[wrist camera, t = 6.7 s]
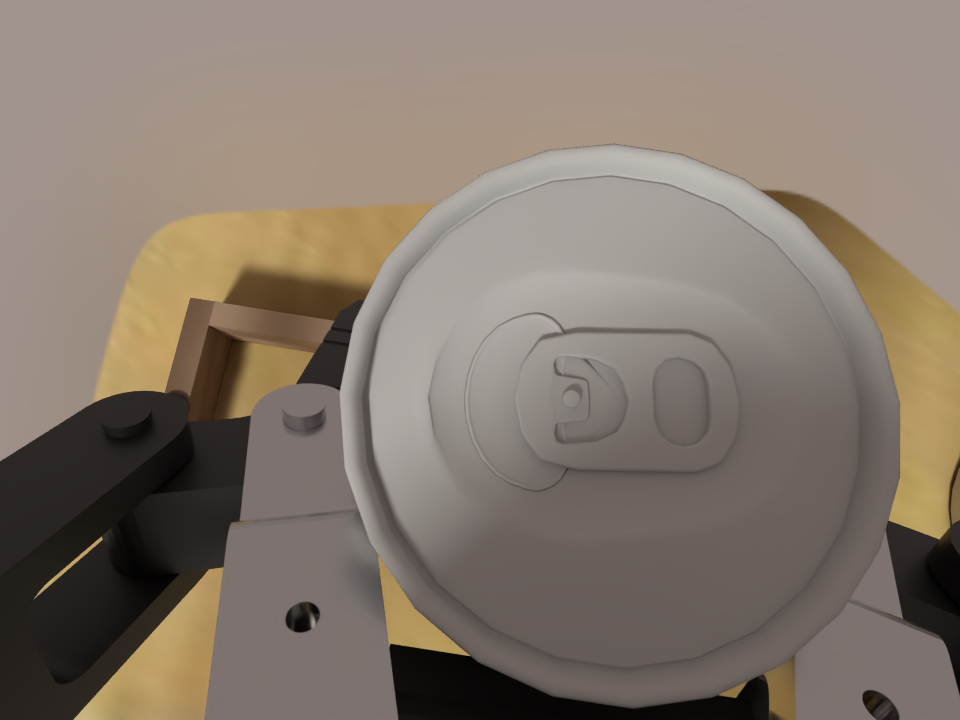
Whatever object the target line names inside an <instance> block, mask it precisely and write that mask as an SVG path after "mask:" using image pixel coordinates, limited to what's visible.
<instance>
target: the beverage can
mask: <svg viewBox="0 0 960 720" xmlns="http://www.w3.org/2000/svg"><path fill="white" fill-rule="evenodd" d="M339 395H340V409H341V423H342V437H343V451H344V465H345V471H346V474H347V477H348V480H349V483H350V486H351V489H352V491H353V494H354V497H355V500H356V503H357V506H358V509H359V512H360V515H361V518H362V520H363V523H364V526H365V529H366V532H367V535H368V538H369V541H370V543H371V545H372V546H373V548H374V549H375V551H376V552H377V553H378V555H379V556H380V558H381V559H382V561H383V562H384V564H385V565H386V567H387V568H388V570H389V571H390V572H391V574H392V575H393V577H394V578H395V580H396V581H397V583H398V584H399V586H400V587H401V588H402V590H403V591H404V593H405V594H406V596H407V597H408V599H409V600H410V602H411V603H412V605H413V606H414V607H415V609H416V610H417V611H418V612H420V613H421V614H422V615H423V616H424V617H425V618H427V619H428V620H429V621H430V622H431V623H432V624H434V625H435V626H436V627H437V628H438V629H440V630H441V631H442V632H443V633H444V634H445V635H447V636H448V637H449V638H450V639H451V640H452V641H454V642H455V643H456V644H457V645H458V646H459V647H461V648H462V649H463V650H464V651H465V652H466V653H468V654H469V655H470V656H471V657H472V658H473V659H475V660H476V661H477V662H478V663H481V664H483V665H485V666H487V667H489V668H492V669H494V670H496V671H498V672H500V673H502V674H505V675H507V676H509V677H511V678H513V679H516V680H518V681H520V682H522V683H524V684H527V685H529V686H531V687H533V688H535V689H537V690H540V691H542V692H544V693H546V694H548V695H551V696H553V697H560V698H566V699H573V700H579V701H586V702H592V703H599V704H605V705H612V706H618V707H625V708H631V709H635V708H642V707H649V706H656V705H663V704H670V703H677V702H684V701H691V700H698V699H705V698H712V697H714V696H716V695H719V694H721V693H723V692H725V691H727V690H729V689H732V688H734V687H736V686H738V685H740V684H743V683H745V682H747V681H749V680H751V679H753V678H756V677H758V676H760V675H762V674H764V673H766V672H769V671H771V670H773V669H775V668H777V667H779V666H782V665H784V664H785V663H786V662H787V661H788V660H789V659H790V658H792V657H793V656H794V655H795V654H796V653H797V652H798V651H799V650H800V649H802V648H803V647H804V646H805V645H806V644H807V643H808V642H809V641H810V640H812V639H813V638H814V637H815V636H816V635H817V634H818V633H819V632H820V631H822V630H823V629H824V628H825V627H826V626H827V625H828V624H829V623H830V622H832V621H833V620H834V619H835V618H836V617H837V616H838V615H839V614H840V613H841V612H842V611H843V609H844V607H845V606H846V604H847V602H848V601H849V599H850V598H851V596H852V594H853V593H854V591H855V589H856V588H857V586H858V585H859V583H860V581H861V580H862V578H863V576H864V575H865V573H866V572H867V570H868V568H869V567H870V565H871V563H872V562H873V560H874V559H875V557H876V555H877V554H878V552H879V550H880V548H881V545H882V541H883V537H884V534H885V530H886V526H887V523H888V519H889V515H890V512H891V508H892V504H893V501H894V497H895V493H896V490H897V486H898V482H899V479H900V402H899V398H898V394H897V390H896V386H895V383H894V379H893V375H892V371H891V367H890V363H889V360H888V356H887V352H886V348H885V344H884V341H883V337H882V333H881V331H880V330H879V328H878V326H877V324H876V322H875V320H874V318H873V317H872V315H871V313H870V311H869V309H868V307H867V305H866V304H865V302H864V300H863V298H862V296H861V294H860V293H859V291H858V289H857V287H856V285H855V283H854V281H853V280H852V278H851V276H850V274H849V272H848V270H847V269H846V268H845V267H844V266H843V265H842V264H841V263H840V262H839V260H838V259H837V258H836V257H835V256H834V255H833V254H832V253H831V252H830V250H829V249H828V248H827V247H826V246H825V245H824V244H823V243H822V242H821V240H820V239H819V238H818V237H817V236H816V235H815V234H814V233H813V232H812V231H811V229H810V228H809V227H808V226H807V225H806V224H805V223H804V222H803V221H802V219H801V218H799V217H798V216H796V215H795V214H794V213H792V212H791V211H789V210H788V209H786V208H785V207H784V206H782V205H781V204H779V203H778V202H776V201H775V200H774V199H772V198H771V197H769V196H768V195H766V194H765V193H764V192H762V191H761V190H759V189H758V188H756V187H755V186H754V185H752V184H751V183H749V182H748V181H746V180H745V179H743V178H741V177H738V176H736V175H733V174H730V173H728V172H726V171H723V170H721V169H718V168H715V167H713V166H710V165H708V164H705V163H703V162H700V161H698V160H695V159H693V158H690V157H688V156H685V155H683V154H679V153H673V152H666V151H659V150H653V149H646V148H639V147H632V146H626V145H619V144H608V145H597V146H587V147H575V148H564V149H555V150H547V151H544V152H541V153H539V154H535V155H532V156H530V157H527V158H524V159H521V160H518V161H515V162H512V163H510V164H507V165H504V166H501V167H498V168H495V169H492V170H489V171H487V172H484V173H483V174H481V175H480V176H479V177H477V178H476V179H474V180H472V181H471V182H470V183H468V184H467V185H465V186H464V187H462V188H461V189H459V190H458V191H456V192H455V193H453V194H452V195H450V196H449V197H447V198H446V199H444V200H443V201H441V202H440V203H438V204H437V205H435V206H434V207H432V208H431V209H429V211H428V212H427V213H426V214H425V215H424V216H423V217H422V218H421V220H420V221H419V222H418V223H417V224H416V225H415V226H414V227H413V229H412V230H411V231H410V232H409V233H408V234H407V235H406V237H405V238H404V239H403V240H402V241H401V242H400V243H399V244H398V246H397V247H396V248H395V249H394V250H393V251H392V252H391V253H390V255H389V256H388V257H387V258H386V259H385V260H384V262H383V264H382V266H381V268H380V270H379V272H378V274H377V276H376V279H375V281H374V283H373V285H372V287H371V289H370V291H369V293H368V295H367V297H366V299H365V301H364V303H363V305H362V307H361V309H360V311H359V313H358V315H357V317H356V319H355V321H354V324H353V329H352V334H351V339H350V344H349V349H348V354H347V359H346V364H345V369H344V374H343V379H342V384H341V389H340V394H339Z"/></svg>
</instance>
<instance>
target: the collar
mask: <svg viewBox="0 0 960 720" xmlns="http://www.w3.org/2000/svg"><path fill="white" fill-rule="evenodd" d="M333 323H334V321H333V320H327V319H320V318H314V317H308V316H302V315H296V314H289V313H283V312H277V311H271V310H264V309H258V308H252V307H246V306H239V305H233V304H227V303H221V302H214V301H208V300H202V299H196V298H190V301H189V305H188V309H187V312H186V316H185V320H184V323H183V327H182V331H181V334H180V338H179V342H178V346H177V349H176V353H175V357H174V360H173V364H172V368H171V371H170V375H169V379H168V383H167V386H166V390H165V394H169V395H171V396H174V397H176V398H177V399H179V400H180V401H181V402H182V403H183V404H184V405H185V407H186V409H187V412H188V417H189V422H190V421H205V420H212V418H213V414H214V410H215V406H216V402H217V398H218V394H219V390H220V386H221V382H222V378H223V374H224V370H225V366H226V362H227V359H228V355H229V351H230V347H231V343H232V340H238V341H244V342H251V343H257V344H263V345H269V346H276V347H282V348H288V349H295V350H301V351H307V352H313V353H315V352H316V350H317V349H318V347H319V346H320V344H321V343H323V339H324V337H325V336H326V334H327V332H328V331H329V330H331V326H332V324H333Z"/></svg>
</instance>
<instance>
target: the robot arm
mask: <svg viewBox="0 0 960 720" xmlns="http://www.w3.org/2000/svg"><path fill="white" fill-rule="evenodd" d="M363 303H364V301H362V300H359V301H357V302H355V303H354V304H352V305H350V306H349V307H347V308H345V309H344V310H342V311H340V313H339V314H338V316H337V318H336V319H335V321H334V323H333V324H332V326H331V330H329V331H328V332H327V334H326V336H325V337H324V339H323V343H321V344H320V346H319V347H318V349H317V350H316V352H315V354H314V355H313V357H312V359H311V360H310V362H309V364H308V365H307V367H306V368H305V370H304V372H303V373H302V375H301V377H300V378H299V380H298V382H297V383H296V384H295V385H290V386H286V387H282V388H279V389H277V390H275V391H272V392H271V393H269V394H267V395H266V396H264V397H263V398H262V399H261V400H259V402H258V403H257V404H256V405H255V407H254V409H253V411H252V414H251V416H246V417H241V418H233V419H220V420H205V421H190V422H189V417H188V412H187V409H186V407H185V405H184V404H183V403H182V402H181V401H180V400H179V399H177V398H176V397H174V396H171V395H169V394H165V393H162V392H155V391H133V392H127V393H121V394H117V395H113V396H110V397H107V398H104V399H102V400H99V401H97V402H95V403H93V404H91V405H89V406H87V407H86V408H84V409H83V410H81V411H79V412H78V413H76V414H75V415H73V416H71V417H70V418H68V419H67V420H65V421H64V422H62V423H60V424H59V425H58V426H56V427H54V428H53V429H51V430H49V431H48V432H46V433H45V434H43V435H41V436H40V437H38V438H37V439H35V440H33V441H32V442H30V443H29V444H27V445H26V446H24V447H22V448H21V449H19V450H18V451H16V452H15V453H13V454H12V455H10V456H8V457H7V458H5V459H3V460H2V461H0V720H73V719H74V718H75V717H76V716H77V715H78V714H79V713H80V712H81V710H82V709H83V708H84V707H85V706H86V705H87V704H88V703H89V702H90V701H91V699H92V698H93V697H94V696H95V695H96V694H97V693H98V692H99V691H100V689H101V688H102V687H103V686H104V685H105V684H106V683H107V682H108V681H109V680H110V678H111V677H112V676H113V675H114V674H115V673H116V672H117V671H118V670H119V669H120V667H121V666H122V665H123V664H124V663H125V662H126V661H127V660H128V659H129V658H130V656H131V655H132V654H133V653H134V652H135V651H136V650H137V649H138V648H139V646H140V645H141V644H142V643H143V642H144V641H145V640H146V639H147V638H148V637H149V635H150V634H151V633H152V632H153V631H154V630H155V629H156V628H157V627H158V626H159V624H160V623H161V622H162V621H163V620H164V619H165V618H166V617H167V616H168V615H169V613H170V612H171V611H172V610H173V609H174V608H175V607H176V606H177V605H178V603H179V602H180V601H181V600H182V599H183V598H184V597H185V596H186V595H187V594H188V592H189V591H190V590H191V589H192V588H193V587H194V586H195V585H196V584H197V583H198V581H199V580H200V579H201V578H202V577H203V576H204V575H205V573H206V572H207V571H208V570H209V569H214V568H221V567H224V568H223V576H222V584H221V592H220V600H219V608H218V616H217V624H216V632H215V640H214V648H213V656H212V664H211V672H210V680H209V688H208V696H207V704H206V712H205V720H960V468H959V470H958V473H957V476H956V480H955V483H954V486H953V489H952V500H951V519H952V526H951V527H950V528H949V529H948V530H947V531H946V533H945V534H944V535H943V536H942V537H941V538H940V540H939V539H937V538H934V537H931V536H928V535H926V534H923V533H920V532H918V531H915V530H912V529H910V528H907V527H904V526H901V525H899V524H896V523H893V522H891V521H888V523H887V526H886V530H885V534H884V537H883V541H882V545H881V548H880V550H879V552H878V554H877V555H876V557H875V559H874V560H873V562H872V563H871V565H870V567H869V568H868V570H867V572H866V573H865V575H864V576H863V578H862V580H861V581H860V583H859V585H858V586H857V588H856V589H855V591H854V593H853V594H852V596H851V598H850V599H849V601H848V602H847V604H846V606H845V607H844V609H843V611H842V612H841V613H840V614H839V615H838V616H837V617H836V618H835V619H834V620H833V621H832V622H830V623H829V624H828V625H827V626H826V627H825V628H824V629H823V630H822V631H820V632H819V633H818V634H817V635H816V636H815V637H814V638H813V639H812V640H810V641H809V642H808V643H807V644H806V645H805V646H804V647H803V648H802V649H800V650H799V651H798V652H797V653H796V654H795V655H794V656H793V657H792V658H790V659H789V660H788V661H787V662H786V663H785V664H784V665H782V666H779V667H777V668H775V669H773V670H771V671H769V672H766V673H764V674H762V675H760V676H758V677H756V678H753V679H751V680H749V681H747V682H745V683H743V684H740V685H738V686H736V687H734V688H732V689H729V690H727V691H725V692H723V693H721V694H719V695H716V696H714V697H712V698H705V699H698V700H691V701H684V702H677V703H670V704H663V705H656V706H649V707H642V708H635V709H631V708H625V707H618V706H612V705H605V704H599V703H592V702H586V701H579V700H573V699H566V698H560V697H553V696H551V695H548V694H546V693H544V692H542V691H540V690H537V689H535V688H533V687H531V686H529V685H527V684H524V683H522V682H520V681H518V680H516V679H513V678H511V677H509V676H507V675H505V674H502V673H500V672H498V671H496V670H494V669H492V668H489V667H487V666H485V665H483V664H481V663H478V662H477V661H476V660H475V659H473V658H472V657H471V656H465V655H459V654H452V653H446V652H439V651H433V650H427V649H420V648H414V647H407V646H401V645H395V644H390V647H389V642H388V634H387V626H386V618H385V611H384V603H383V595H382V587H381V579H380V571H379V563H378V555H377V552H376V551H375V549H374V548H373V546H372V545H371V543H370V541H369V538H368V535H367V532H366V529H365V526H364V523H363V520H362V518H361V515H360V512H359V509H358V506H357V503H356V500H355V497H354V494H353V491H352V489H351V486H350V483H349V480H348V477H347V474H346V471H345V465H344V451H343V437H342V423H341V409H340V395H339V394H340V389H341V384H342V379H343V374H344V369H345V364H346V359H347V354H348V349H349V344H350V339H351V334H352V329H353V324H354V321H355V319H356V317H357V315H358V313H359V311H360V309H361V307H362V305H363ZM101 536H102V538H103V540H102V541H101V542H100V543H99V544H97V545H96V546H95V547H94V548H93V549H92V550H90V551H89V552H88V553H87V554H86V555H85V556H84V557H82V558H81V559H80V560H79V561H78V562H77V563H75V564H74V565H73V566H72V567H71V568H70V569H68V570H67V571H66V572H65V573H64V574H63V575H62V576H60V577H59V578H58V579H57V580H56V581H55V582H53V583H52V584H51V585H50V586H49V587H48V588H46V589H45V590H44V591H43V592H42V593H41V594H40V595H38V596H37V597H36V598H35V596H36V595H37V594H38V592H39V591H40V590H41V589H42V588H43V587H44V585H46V584H47V583H48V582H49V581H50V580H51V579H52V578H53V577H54V576H56V575H57V574H58V573H59V572H60V571H61V570H63V569H64V568H65V567H66V566H67V565H69V564H70V563H71V562H72V561H73V560H74V559H76V558H77V557H78V556H79V555H80V554H81V553H83V552H84V551H85V550H86V549H87V548H88V547H90V546H91V545H92V544H93V543H94V542H95V541H97V540H98V539H99V538H100V537H101ZM34 598H35V599H34ZM33 599H34V600H33Z"/></svg>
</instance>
